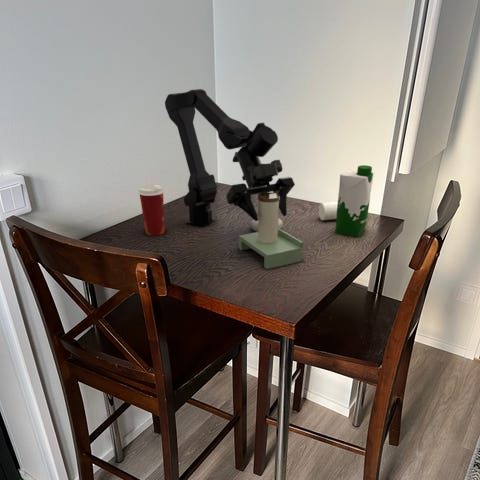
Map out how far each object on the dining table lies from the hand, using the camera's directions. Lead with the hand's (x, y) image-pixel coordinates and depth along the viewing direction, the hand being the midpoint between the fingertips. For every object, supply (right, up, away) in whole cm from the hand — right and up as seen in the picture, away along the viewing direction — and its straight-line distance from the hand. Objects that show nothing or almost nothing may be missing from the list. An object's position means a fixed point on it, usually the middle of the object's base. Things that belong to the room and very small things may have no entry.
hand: (271, 218), depth 130 cm
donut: (0, +1, +23) cm, 23 cm away
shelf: (0, -9, +6) cm, 11 cm away
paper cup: (-35, 0, +22) cm, 41 cm away
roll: (+24, +6, +32) cm, 40 cm away
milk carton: (+26, 0, +21) cm, 34 cm away
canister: (-1, -5, +5) cm, 7 cm away
